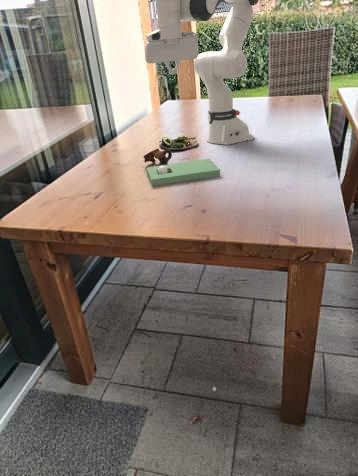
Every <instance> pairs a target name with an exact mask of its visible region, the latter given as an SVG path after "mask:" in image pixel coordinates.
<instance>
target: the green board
mask: <svg viewBox="0 0 358 476" xmlns="http://www.w3.org/2000/svg"><path fill="white" fill-rule="evenodd" d="M161 166H165V167H167V169H168V173H166V174H158V168H159V167H160V166H156V165H155V166H148V167H146V174H147V177H148V179H149V181H150V184H151V186H152V187H157V186H162V185H169V184H176V183H181V182H189V181H197V180H201V179H203V180H204V179H208V178H215V177H216V178H217V177H221V170H220V168H219V167H218V166H217V164H216V163H215V162H213V160H212V159H211V158H203V159H197V160H191V161H183V162H177V163H168V165H161Z"/></svg>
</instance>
